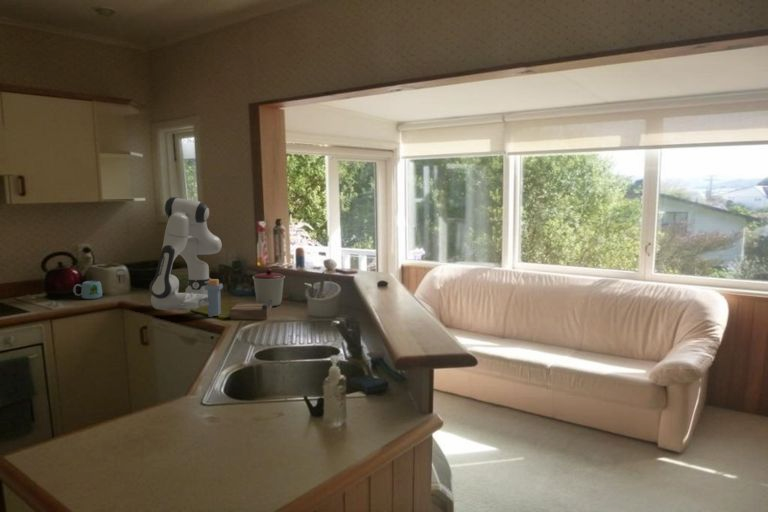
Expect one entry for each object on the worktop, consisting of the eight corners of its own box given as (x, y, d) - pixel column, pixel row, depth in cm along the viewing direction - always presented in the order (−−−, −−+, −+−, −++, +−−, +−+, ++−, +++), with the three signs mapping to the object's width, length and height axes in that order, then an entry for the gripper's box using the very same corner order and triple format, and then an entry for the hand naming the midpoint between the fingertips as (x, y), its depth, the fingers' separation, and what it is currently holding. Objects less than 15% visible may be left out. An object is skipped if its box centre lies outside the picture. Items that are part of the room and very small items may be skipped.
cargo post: (209, 314, 263) (209, 283, 261) (223, 314, 263) (222, 283, 261) (205, 317, 256) (204, 285, 254) (219, 317, 256) (218, 285, 254)
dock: (238, 312, 268) (237, 299, 267) (272, 312, 269) (272, 299, 268) (230, 319, 252) (230, 305, 251) (266, 319, 253) (266, 305, 252)
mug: (75, 301, 291) (74, 284, 290) (72, 298, 299) (71, 282, 298) (104, 298, 301) (103, 282, 300) (100, 295, 309) (99, 279, 308)
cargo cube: (211, 286, 260) (210, 279, 259) (219, 286, 260) (218, 279, 259) (208, 288, 256) (208, 280, 255) (216, 288, 256) (216, 280, 255)
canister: (277, 309, 277) (277, 271, 274) (247, 307, 280) (246, 270, 278) (290, 302, 294) (289, 267, 292) (261, 301, 298) (260, 266, 296)
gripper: (177, 299, 247) (205, 299, 248) (191, 291, 268) (217, 291, 268) (177, 311, 248) (206, 311, 249) (191, 303, 268) (217, 303, 269)
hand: (212, 301), depth 259 cm, fingers open, 8 cm apart
